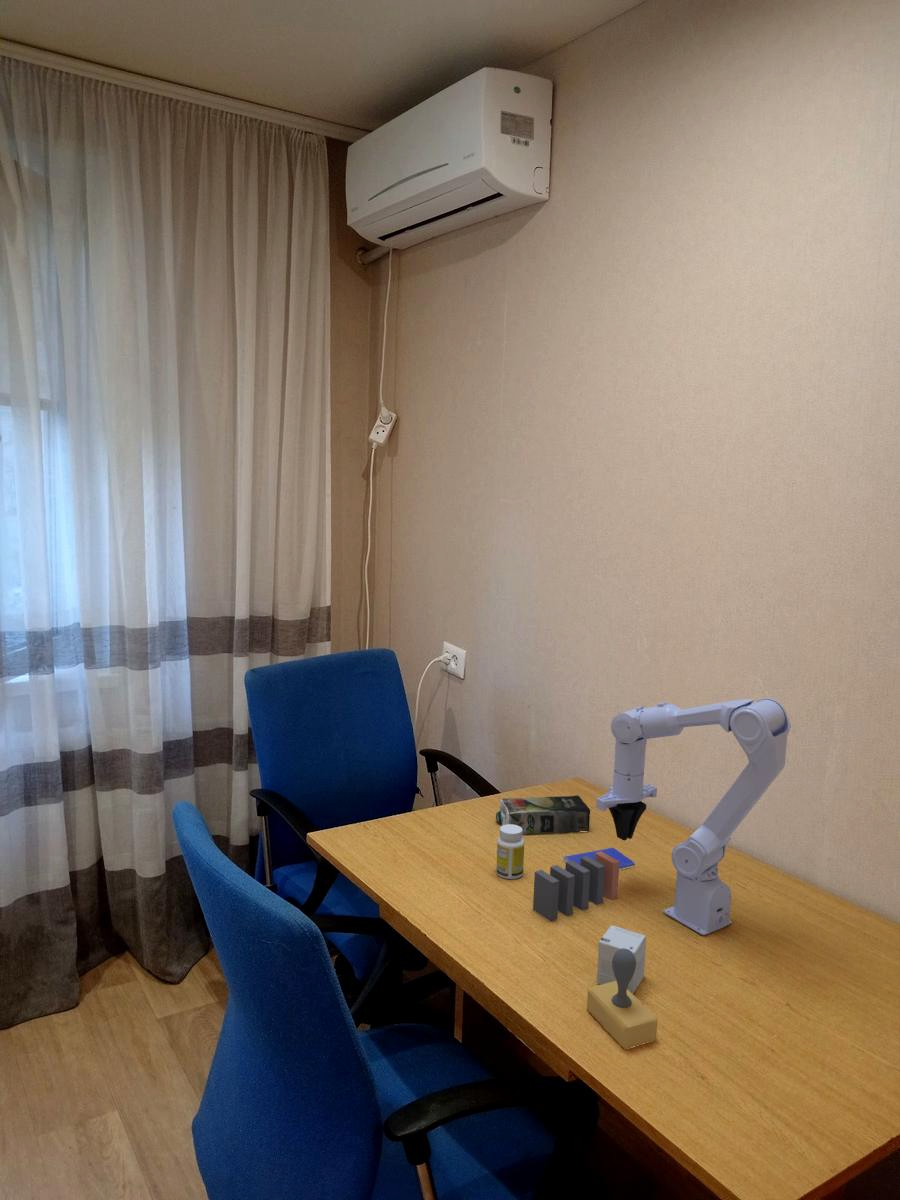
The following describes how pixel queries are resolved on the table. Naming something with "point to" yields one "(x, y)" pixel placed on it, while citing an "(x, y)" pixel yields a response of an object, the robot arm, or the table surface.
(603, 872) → the domino
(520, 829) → the supplement bottle
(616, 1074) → the table surface
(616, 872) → the domino
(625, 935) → the skincare box
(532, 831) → the juice carton
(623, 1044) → the rubber stamp
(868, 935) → the table surface
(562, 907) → the domino
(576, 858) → the hard drive
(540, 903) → the domino
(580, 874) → the domino
